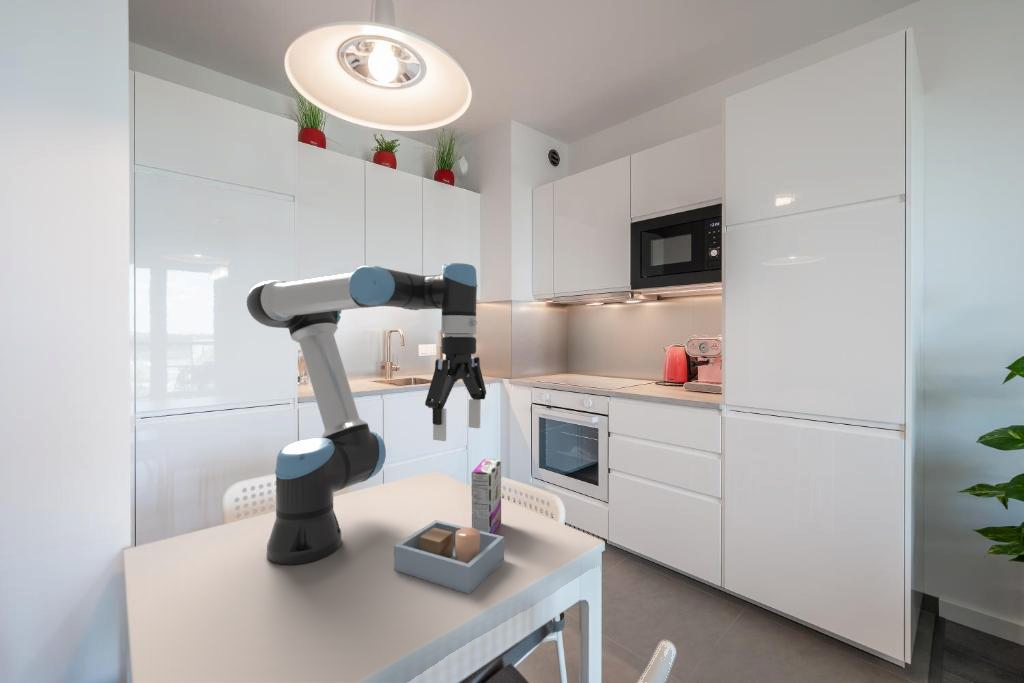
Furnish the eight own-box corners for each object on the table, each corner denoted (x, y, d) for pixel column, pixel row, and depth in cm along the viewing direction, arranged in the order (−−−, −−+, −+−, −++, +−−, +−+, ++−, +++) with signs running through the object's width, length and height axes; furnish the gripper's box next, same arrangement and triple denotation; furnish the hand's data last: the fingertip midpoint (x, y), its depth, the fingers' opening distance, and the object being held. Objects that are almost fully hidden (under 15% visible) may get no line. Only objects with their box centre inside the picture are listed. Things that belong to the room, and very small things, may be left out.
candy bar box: (482, 521, 114) (483, 458, 114) (501, 523, 113) (502, 459, 113) (470, 541, 103) (470, 471, 103) (490, 543, 102) (491, 472, 102)
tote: (394, 569, 90) (394, 545, 90) (435, 541, 102) (435, 520, 102) (469, 593, 82) (469, 567, 82) (503, 559, 94) (504, 536, 94)
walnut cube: (438, 566, 90) (439, 542, 90) (419, 560, 93) (419, 536, 93) (452, 555, 95) (452, 532, 95) (433, 550, 97) (434, 527, 97)
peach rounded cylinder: (472, 575, 87) (473, 540, 87) (450, 570, 89) (451, 535, 89) (483, 563, 92) (484, 530, 92) (462, 558, 94) (462, 526, 93)
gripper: (439, 336, 83) (438, 448, 83) (501, 336, 105) (500, 424, 105) (407, 335, 86) (406, 443, 86) (474, 335, 108) (473, 421, 109)
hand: (458, 433), depth 96 cm, fingers open, 13 cm apart
